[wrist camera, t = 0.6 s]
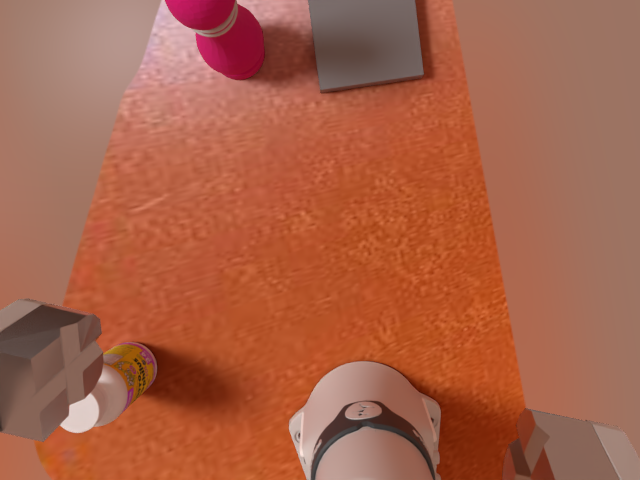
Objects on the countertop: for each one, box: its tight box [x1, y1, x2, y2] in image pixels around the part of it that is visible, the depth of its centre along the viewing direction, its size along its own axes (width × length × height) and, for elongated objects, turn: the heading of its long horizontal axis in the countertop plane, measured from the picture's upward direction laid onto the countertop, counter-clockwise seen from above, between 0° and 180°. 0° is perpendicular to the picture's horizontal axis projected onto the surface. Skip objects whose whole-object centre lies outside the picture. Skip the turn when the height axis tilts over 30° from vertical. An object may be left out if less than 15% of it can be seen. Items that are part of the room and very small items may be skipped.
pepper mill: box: [165, 0, 265, 80], centre depth 45 cm, size 7×7×20 cm
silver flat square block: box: [308, 0, 424, 93], centre depth 53 cm, size 12×12×2 cm
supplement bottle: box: [60, 342, 157, 433], centre depth 52 cm, size 7×7×13 cm
